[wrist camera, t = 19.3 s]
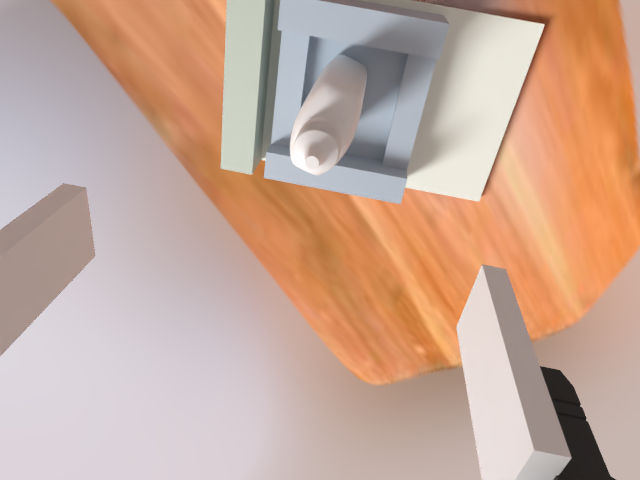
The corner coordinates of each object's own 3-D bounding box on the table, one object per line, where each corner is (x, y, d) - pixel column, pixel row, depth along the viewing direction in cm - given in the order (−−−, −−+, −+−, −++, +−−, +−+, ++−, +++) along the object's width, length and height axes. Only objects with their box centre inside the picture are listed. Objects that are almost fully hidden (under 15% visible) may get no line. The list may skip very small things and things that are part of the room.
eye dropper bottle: (388, 99, 33) (385, 168, 23) (322, 142, 35) (294, 223, 25) (351, 43, 31) (332, 91, 21) (286, 93, 33) (240, 157, 23)
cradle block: (292, -12, 31) (280, -7, 28) (443, 15, 31) (449, 23, 28) (275, 156, 38) (264, 177, 34) (399, 180, 37) (400, 204, 34)
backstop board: (243, -31, 32) (227, -28, 29) (542, 23, 31) (558, 31, 28) (233, 151, 39) (220, 168, 36) (477, 198, 38) (485, 219, 35)
